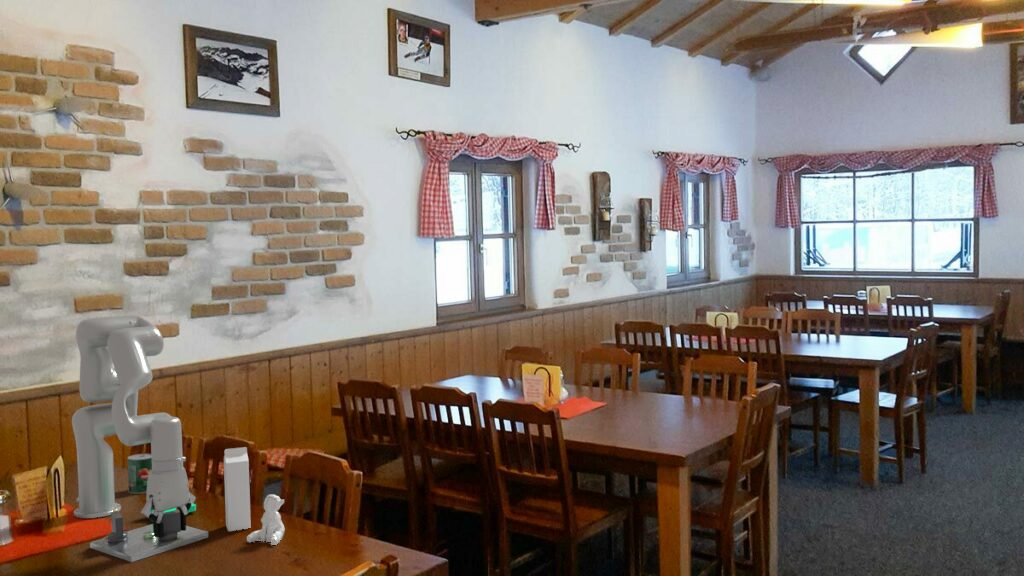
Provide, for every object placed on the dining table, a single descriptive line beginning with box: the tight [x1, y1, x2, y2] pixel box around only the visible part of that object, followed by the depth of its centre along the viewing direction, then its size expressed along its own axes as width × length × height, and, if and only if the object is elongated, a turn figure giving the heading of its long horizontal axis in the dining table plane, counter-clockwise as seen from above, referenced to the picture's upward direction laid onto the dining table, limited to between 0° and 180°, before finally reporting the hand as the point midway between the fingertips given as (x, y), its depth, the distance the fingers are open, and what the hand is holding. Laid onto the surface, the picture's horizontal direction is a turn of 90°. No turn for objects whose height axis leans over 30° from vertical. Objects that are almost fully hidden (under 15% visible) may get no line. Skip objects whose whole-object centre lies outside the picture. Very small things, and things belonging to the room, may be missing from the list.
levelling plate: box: [89, 523, 209, 563], centre depth 234 cm, size 19×22×2 cm
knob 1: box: [107, 510, 128, 543], centre depth 232 cm, size 5×6×7 cm
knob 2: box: [157, 509, 181, 541], centre depth 233 cm, size 5×6×7 cm
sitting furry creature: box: [246, 494, 286, 546], centre depth 235 cm, size 10×9×12 cm
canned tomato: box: [127, 453, 152, 495], centre depth 286 cm, size 8×8×11 cm
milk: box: [223, 446, 252, 532], centre depth 246 cm, size 6×6×22 cm
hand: (170, 532), depth 233 cm, fingers closed on knob 2, 5 cm apart
